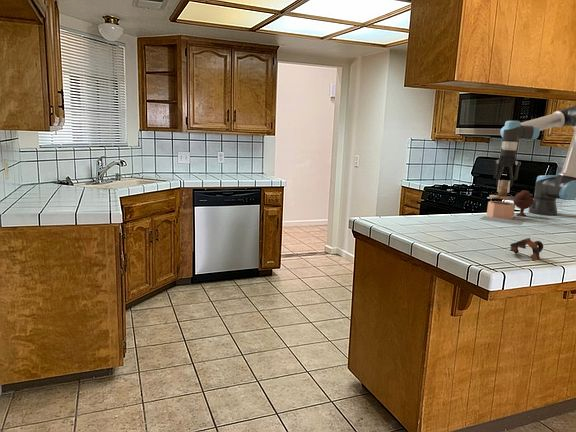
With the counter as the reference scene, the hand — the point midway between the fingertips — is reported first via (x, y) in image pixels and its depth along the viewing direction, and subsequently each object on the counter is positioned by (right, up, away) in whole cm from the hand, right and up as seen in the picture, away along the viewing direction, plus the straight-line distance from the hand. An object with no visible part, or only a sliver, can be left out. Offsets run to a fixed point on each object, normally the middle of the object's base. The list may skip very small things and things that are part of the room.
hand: (503, 192), depth 248 cm
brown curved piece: (-31, -29, -82) cm, 92 cm away
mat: (-5, -16, -10) cm, 19 cm away
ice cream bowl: (+16, -13, +11) cm, 23 cm away
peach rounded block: (0, -4, 0) cm, 4 cm away
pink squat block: (-1, -14, +3) cm, 14 cm away
